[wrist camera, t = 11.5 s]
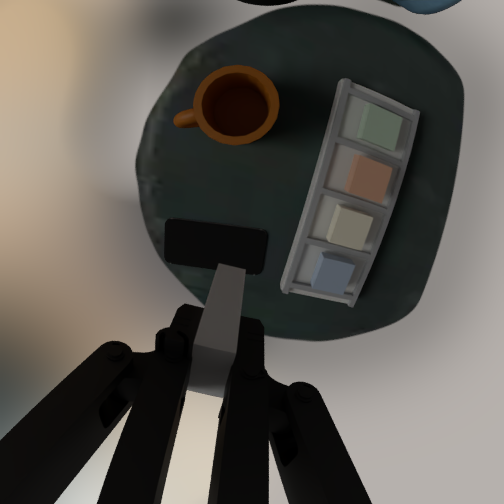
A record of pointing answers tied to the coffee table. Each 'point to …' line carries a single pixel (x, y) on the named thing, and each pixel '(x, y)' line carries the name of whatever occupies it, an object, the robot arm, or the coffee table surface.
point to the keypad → (332, 191)
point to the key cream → (349, 227)
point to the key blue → (332, 273)
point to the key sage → (379, 127)
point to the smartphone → (214, 245)
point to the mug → (233, 105)
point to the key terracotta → (368, 178)
